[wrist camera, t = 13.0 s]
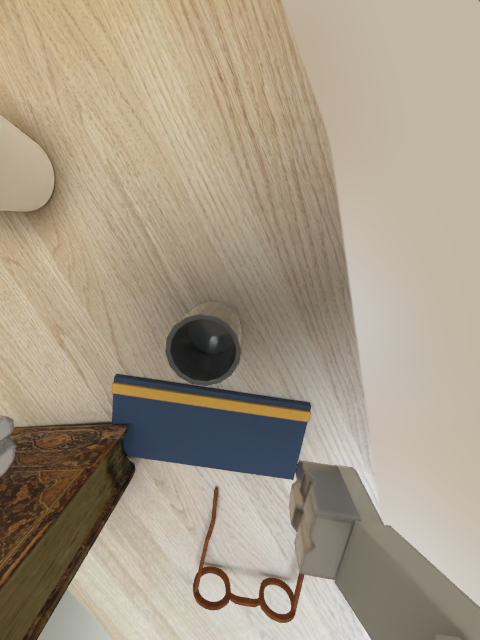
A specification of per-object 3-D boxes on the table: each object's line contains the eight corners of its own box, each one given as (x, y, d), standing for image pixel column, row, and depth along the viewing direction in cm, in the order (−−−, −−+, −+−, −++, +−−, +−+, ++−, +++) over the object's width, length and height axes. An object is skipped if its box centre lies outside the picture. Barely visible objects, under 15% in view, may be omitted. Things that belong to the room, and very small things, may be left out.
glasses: (196, 562, 35) (188, 611, 30) (215, 485, 32) (209, 525, 27) (290, 580, 35) (297, 631, 31) (317, 505, 33) (330, 548, 28)
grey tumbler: (245, 305, 27) (245, 321, 20) (236, 358, 28) (234, 390, 21) (188, 296, 27) (169, 309, 20) (182, 350, 28) (162, 379, 21)
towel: (309, 402, 29) (312, 408, 28) (292, 475, 32) (294, 482, 31) (116, 373, 29) (112, 378, 28) (113, 449, 31) (108, 456, 30)
